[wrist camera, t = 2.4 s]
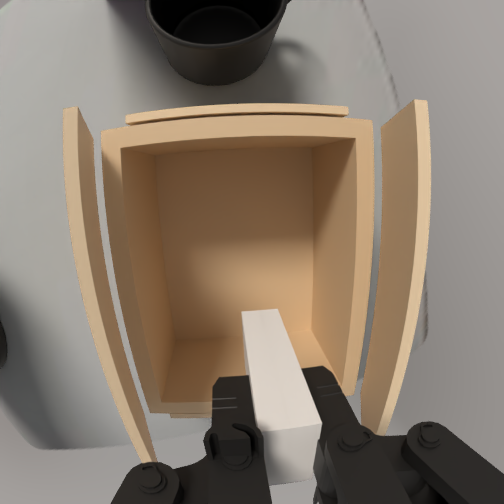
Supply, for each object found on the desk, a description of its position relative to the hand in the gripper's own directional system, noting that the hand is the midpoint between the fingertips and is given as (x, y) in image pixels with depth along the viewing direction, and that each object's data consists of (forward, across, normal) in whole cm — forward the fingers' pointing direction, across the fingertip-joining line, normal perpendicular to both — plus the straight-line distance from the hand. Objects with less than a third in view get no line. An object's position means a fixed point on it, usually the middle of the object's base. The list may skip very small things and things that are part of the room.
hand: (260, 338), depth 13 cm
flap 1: (+1, -7, 0) cm, 7 cm away
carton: (+16, 0, 0) cm, 16 cm away
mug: (+16, 0, +20) cm, 26 cm away
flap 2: (+2, +7, 0) cm, 7 cm away
